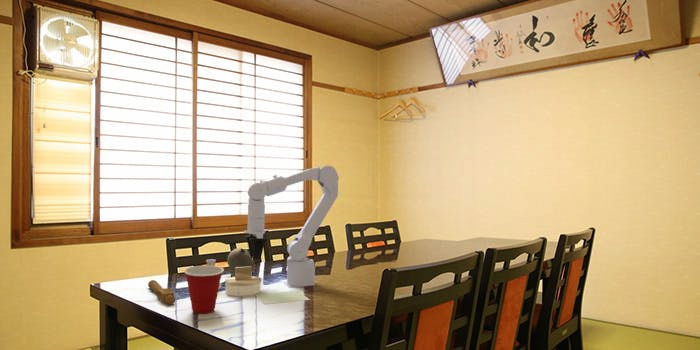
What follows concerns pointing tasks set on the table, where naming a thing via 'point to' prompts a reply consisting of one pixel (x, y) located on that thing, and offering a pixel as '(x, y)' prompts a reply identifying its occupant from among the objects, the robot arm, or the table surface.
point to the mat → (281, 297)
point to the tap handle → (162, 293)
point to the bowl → (242, 290)
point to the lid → (243, 277)
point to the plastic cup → (203, 287)
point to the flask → (212, 263)
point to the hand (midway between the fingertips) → (255, 257)
